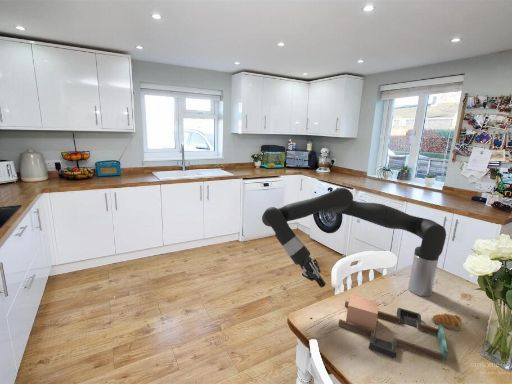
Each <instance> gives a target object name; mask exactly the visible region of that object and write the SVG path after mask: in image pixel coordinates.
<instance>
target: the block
mask: <svg viewBox="0 0 512 384" xmlns="http://www.w3.org/2000/svg"><path fill="white" fill-rule="evenodd" d="M348 302H349V304H348V307H347V311H346V319H345V321H347V322H350V323H353V324H356V325H359V326H362V327H365V328H368V329H371V330H374V331H375V332H376V327H377V320H378V317H377V315H378V311H379V301H376V300H373V299H368V298H365V297H362V296H357V295H354V294H350V296H349V299H348Z"/></svg>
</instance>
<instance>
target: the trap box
mask: <svg viewBox="0 0 512 384" xmlns="http://www.w3.org/2000/svg"><path fill="white" fill-rule="evenodd" d="M344 303H345V304H344V307H345V308H348V304H349V300H348V301H347V300H345V302H344ZM377 318H381V319H384V320H387V321H390V322H394V323H397V324H405V325H408V326H412V327H414V328H417V330H419V331H422V332H425V333H429V334H432V335H436V337H437V342H438V347H439V352H438V351H436V350H433V349H430V348H428V347H424V346H421V345H418V344H415V343H413V342H410V341H406V340H404V339H400V338H398V337H395V336H394V337H393V339H392V342H390V341H387V340H384V339H381V338H378V337H375V332H376V330H375V331H374V330H371V329H368V328H365V327H362V326H359V325H356V324H353V323H350V322H347V321H346V320H344V319H340V318H339V320H338V326H339V327H341V328H345V329H348V330H350V331H353V332H356V333H360V334H362V335H365V336H368V337H370V338H369V345H368V349H369V350H370V351H373V352H376V353H379V354H381V355H383V356H387V357H390V358H393V359H394V358H396V357H397V353H398V352H397V350H398V349H397V348H398V347H400V348H403V349H405V350H408V351H411V352H414V353H417V354H420V355H424V356H426V357H429V358H431V359H434V360H437V361H441V362H443V363H446V361H447V358H448V354H449V351H448V350H449V349H448V345H447V341H446V340H447V339H446V336H445V331H444V327H443V326H442V325H441V324H439V325H437V326H438V327H433V326H430V325H427V324H424V323H422V314H421V313H419V312H415V311H412V310H408V309H404V308H401V307H397V309H396V315H394V314H391V313H387V312H383V311H380V310H378V315H377Z"/></svg>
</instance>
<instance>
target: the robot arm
mask: <svg viewBox="0 0 512 384" xmlns="http://www.w3.org/2000/svg"><path fill="white" fill-rule="evenodd" d="M325 210H330V211H331V212H334V213H336V214H343V215H345V216H351V217H354V218H358V219H360V220H362V221H365V222H368V223H371V224H374V225H376V226H377V225H378V226H380V227H383V228H387V229H391V230H403V231H405V232H408V233H411V234H413V235H414V236H415V235H416V236H417V237H418V238H420V239H421V244H420V246H417V247H416V248H415V249H414V251H413V252H414V253H413V254H414V255H413V258H412V265H411V271H410V275H409V280H408V287H407V288H408V290H409V291H410V293H412V294H414V295H417V296H419V297H430V296H432V292H433V287H434V282H435V279H436V278H435V277H436V272H437V268H438V262H439V257H440V256H441V255H442V253H443V251H444V247H445V244H446V238H447V231H446V228H445V227H444V226H443V225H441V224H440V223H438V222H436V221H434V220H432V219H428V218H424V217H420V216H415V215H410V214H408V213H406V212H404V211H402V210H399V209H397V208H395V207H392V206H389V205H386V204H382V203H377V202H362V201H357V200H354V194H353V193H352V192H351V190H349V189H348V188H345V187H339V188H336V189H334V190H332V191H329V192H327V193H325V194H324V193H323V194H321V195H318V196H316V197H312V198H307V199H304V200H298V201H296V202H292V203H291V202H290V203H287V204H285V205H284V206H282V207H278V208H277V207H275V206H270V207H268V208H266V209H265V210H264V212H263V214H262V215H261V221H262V223H263V224H264V225H265V226H267V227H270V228H271V229H272V230H273V232H274V234H275V238H276V239H277V241H278V242H279V243H280V245H281V246H282V248H283V250H285V251H284V252H286V254H287V255H288V256H289V258H290V259H291V261H292V262H293V264H295V265H296V266H297V265H299V266H300V269H301V270H302V273H301V275H302V277H304V278H306V279H307V280H309V281H311V282H313V281H315V282H316V283H317V284H318V287H320V289H321V288H324V287H326V285H327V283H326V282H325V280H324V279H323V278H322V276H321V273H322V272H321V269H320V266H319V262H318V261H317V259H313V258H312V257H311V252H310V250H309V249H308V248H307V246H305V243H304V242H303V241H302V240H301V238H299V237H298V236H297V234H296V232H294V230H293V229H292V228H291V226H289V223H288V222H291V221H295V220H299V219H304V218H306V217H309V216H312V215H314V214H318V213H319V212H322V211H325Z"/></svg>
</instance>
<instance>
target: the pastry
mask: <svg viewBox="0 0 512 384" xmlns="http://www.w3.org/2000/svg"><path fill="white" fill-rule="evenodd" d="M431 320H432V321H433V323H435V324H436V325H437V326H439V324H441V325H442V326H443V328H446V329H450V330H455V331H462V330H463V329H464V324H463V321H462V319H461V317H460V316H458V315H457V314H454V315H453V314H449V313H441V314H434V315H433V316H432V317H431Z"/></svg>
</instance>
